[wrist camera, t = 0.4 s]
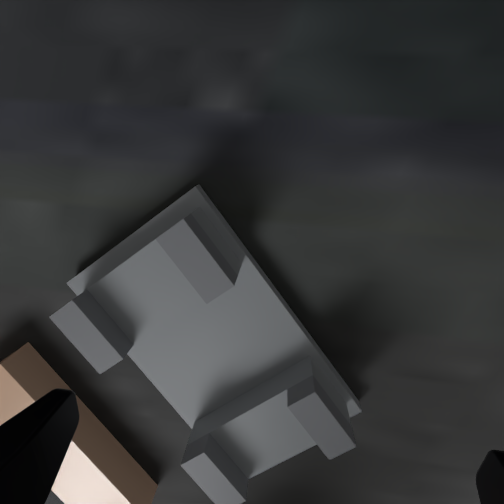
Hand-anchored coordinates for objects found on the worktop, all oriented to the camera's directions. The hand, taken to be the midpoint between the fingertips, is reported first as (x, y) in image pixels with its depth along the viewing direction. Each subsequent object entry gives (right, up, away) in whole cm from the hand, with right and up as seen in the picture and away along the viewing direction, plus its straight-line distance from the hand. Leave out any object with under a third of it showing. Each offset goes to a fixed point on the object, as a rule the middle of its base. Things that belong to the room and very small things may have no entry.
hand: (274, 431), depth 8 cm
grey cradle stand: (-3, -2, +16) cm, 16 cm away
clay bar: (-13, -9, +19) cm, 25 cm away
